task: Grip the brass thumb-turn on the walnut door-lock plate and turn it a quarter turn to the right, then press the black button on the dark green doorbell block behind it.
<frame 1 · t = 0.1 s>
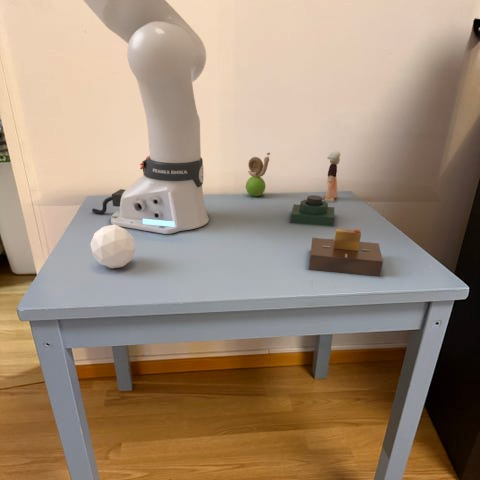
snail figurine: (256, 197, 126), on the table
lock turn: (347, 239, 85), point 5 cm above the table, hinge at 0.0°
bell block: (312, 219, 110), on the table
geometric ball: (115, 266, 84), on the table
bell button: (314, 201, 108), point 4 cm above the table, slide at 0.1 cm
grandmother figurine: (329, 199, 126), on the table
lock plate: (343, 263, 88), on the table
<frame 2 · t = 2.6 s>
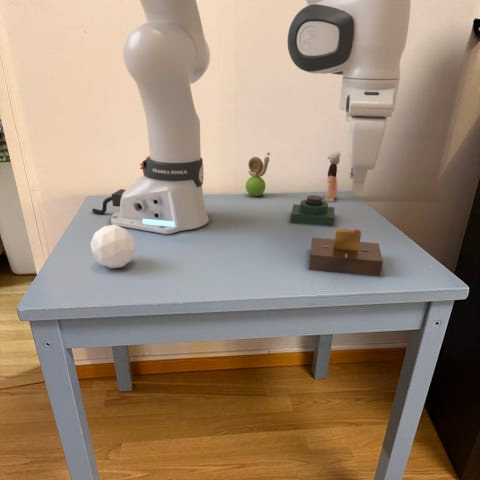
hand: (355, 184, 80), 15 cm above the table, tool pointing down, fingers open, 8 cm apart
nothing on the table moved.
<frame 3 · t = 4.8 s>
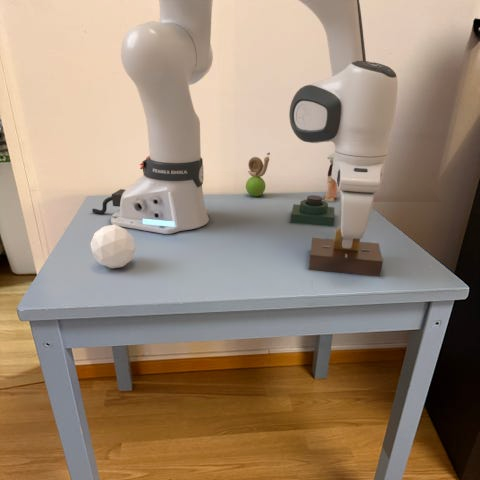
hand: (346, 244, 86), 4 cm above the table, tool pointing down, fingers closed on lock turn
lock turn: (347, 239, 85), point 5 cm above the table, hinge at 0.0°, touching gripper
everything else where it was.
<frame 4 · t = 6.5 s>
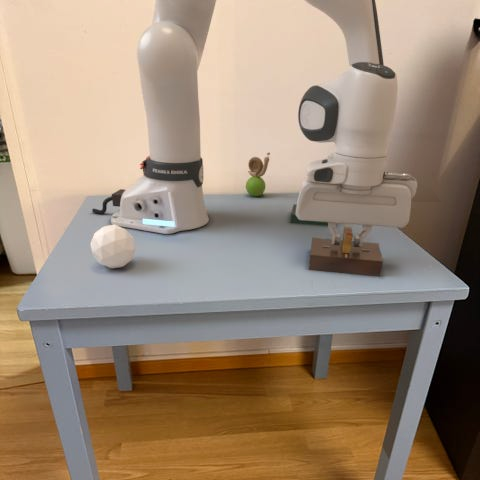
hand: (346, 245, 86), 4 cm above the table, tool pointing down, fingers open, 3 cm apart
lock turn: (347, 239, 85), point 5 cm above the table, hinge at -89.4°
everything else where it was.
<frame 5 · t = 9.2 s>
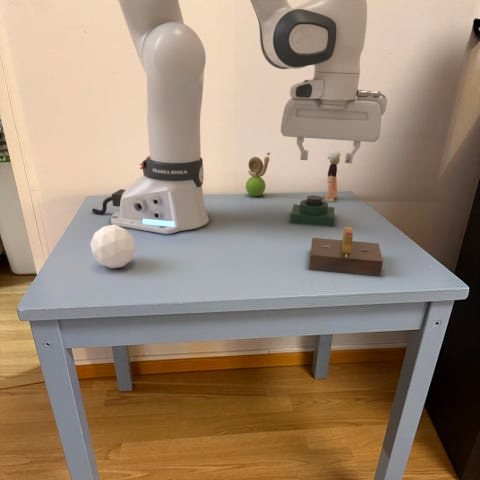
hand: (325, 161, 97), 15 cm above the table, tool pointing down, fingers open, 8 cm apart
nothing on the table moved.
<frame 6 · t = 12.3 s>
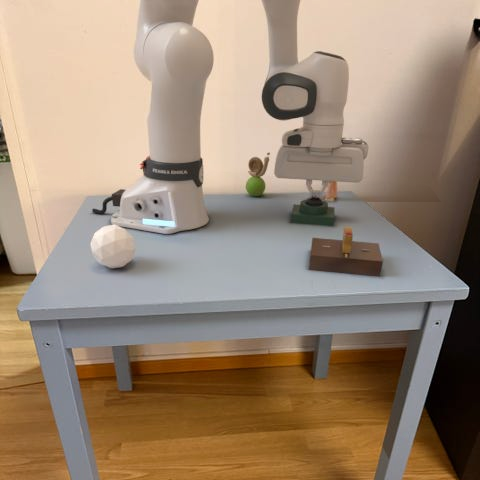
hand: (315, 198, 108), 5 cm above the table, tool pointing down, fingers closed, pressing on bell button
bell button: (314, 202, 108), point 4 cm above the table, slide at -0.3 cm, touching gripper
everything else where it was.
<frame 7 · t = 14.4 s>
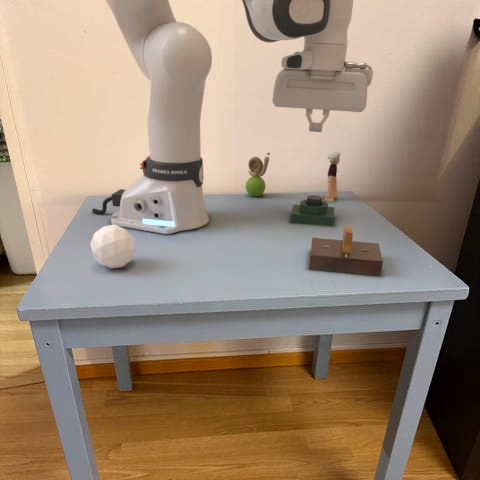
hand: (315, 131, 102), 20 cm above the table, tool pointing down, fingers closed
bell button: (314, 201, 108), point 4 cm above the table, slide at 0.1 cm
everything else where it was.
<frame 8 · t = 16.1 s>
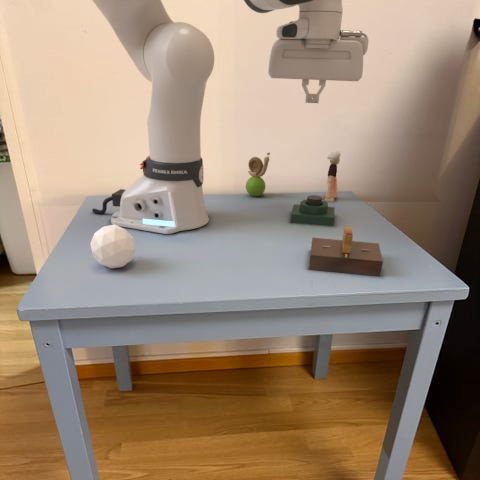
hand: (311, 102, 102), 25 cm above the table, tool pointing down, fingers closed
nothing on the table moved.
at the end: lock turn at -89° (first picture: +0°); bell button pushed in 1.1 cm at the most during the clip, back to where it started at the end; bell button slide at 0.1 cm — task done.
